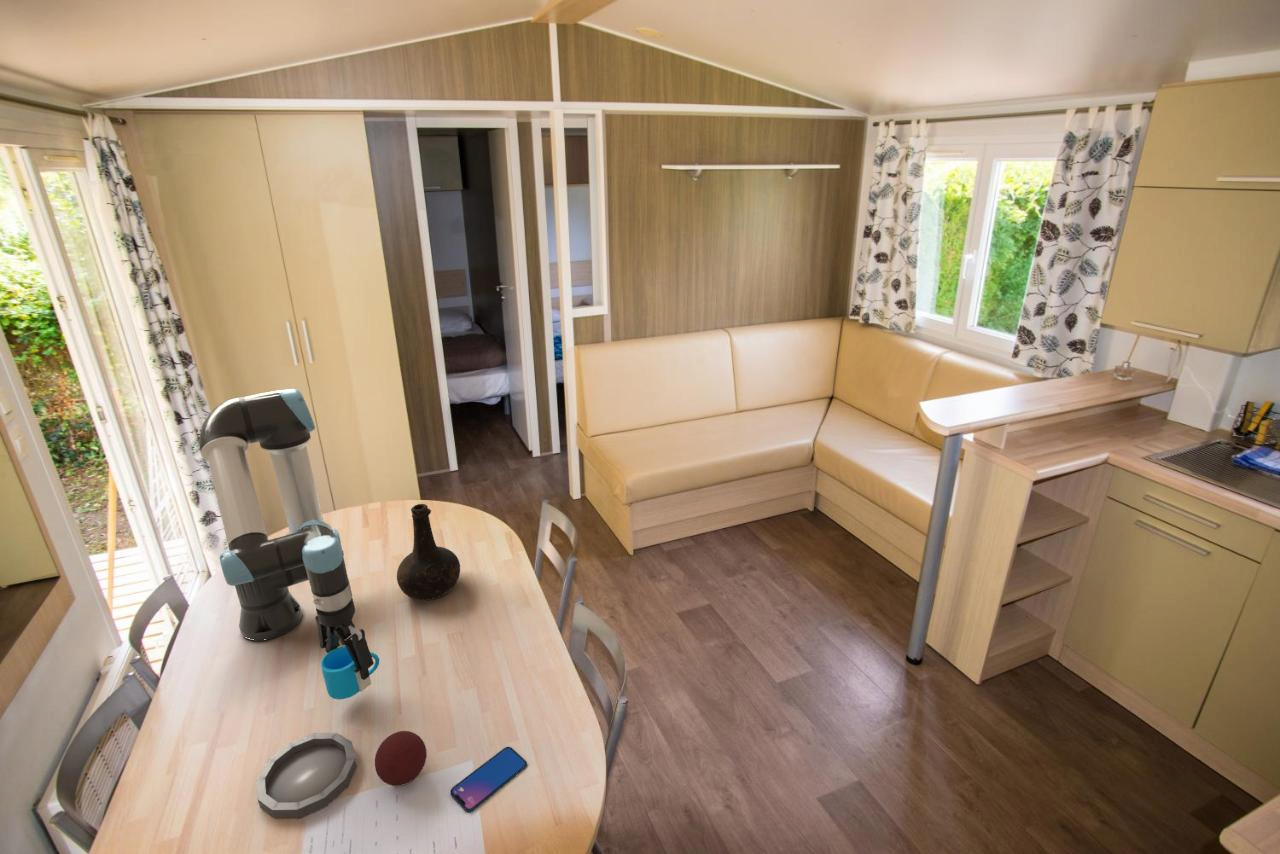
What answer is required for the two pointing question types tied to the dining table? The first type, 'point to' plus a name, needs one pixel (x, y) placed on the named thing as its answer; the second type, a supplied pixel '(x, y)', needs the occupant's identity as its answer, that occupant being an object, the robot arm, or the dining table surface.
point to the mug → (342, 673)
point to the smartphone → (488, 779)
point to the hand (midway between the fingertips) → (352, 679)
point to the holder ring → (306, 775)
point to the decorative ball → (400, 758)
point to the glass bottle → (427, 562)
